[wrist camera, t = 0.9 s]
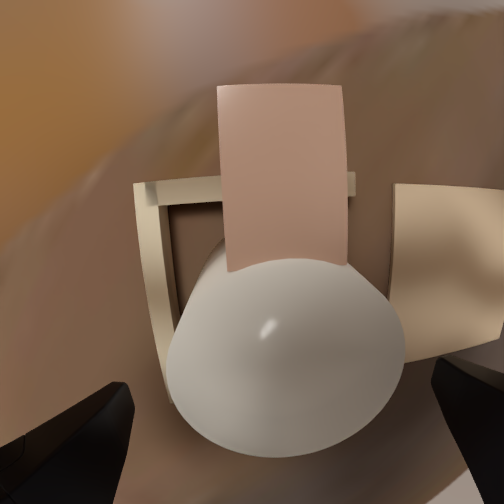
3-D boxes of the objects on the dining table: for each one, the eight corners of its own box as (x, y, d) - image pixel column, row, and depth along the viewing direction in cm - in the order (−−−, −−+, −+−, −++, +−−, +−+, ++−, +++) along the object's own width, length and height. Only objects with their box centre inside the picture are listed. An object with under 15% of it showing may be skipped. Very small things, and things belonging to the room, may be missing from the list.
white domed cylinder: (336, 347, 16) (382, 441, 9) (207, 355, 15) (188, 459, 9) (339, 125, 13) (416, 89, 6) (187, 130, 13) (133, 91, 6)
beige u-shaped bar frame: (335, 378, 16) (342, 394, 15) (175, 386, 16) (170, 403, 14) (343, 171, 13) (354, 171, 12) (144, 182, 13) (133, 183, 12)
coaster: (496, 336, 16) (498, 338, 16) (377, 365, 16) (379, 368, 16) (518, 191, 14) (521, 192, 13) (392, 183, 13) (395, 183, 13)
